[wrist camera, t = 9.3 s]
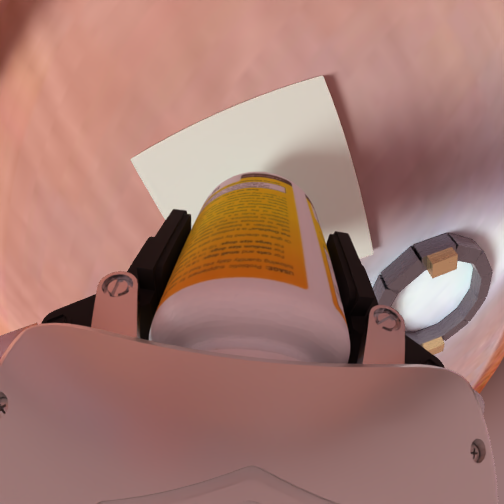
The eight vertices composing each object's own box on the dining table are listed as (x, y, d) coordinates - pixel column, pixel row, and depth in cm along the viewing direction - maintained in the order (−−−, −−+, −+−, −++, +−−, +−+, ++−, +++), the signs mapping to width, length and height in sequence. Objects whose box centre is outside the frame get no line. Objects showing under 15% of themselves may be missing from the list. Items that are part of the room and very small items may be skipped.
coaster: (370, 248, 17) (373, 254, 16) (217, 294, 20) (216, 300, 19) (320, 75, 11) (322, 75, 11) (134, 156, 14) (130, 159, 14)
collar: (472, 315, 20) (482, 332, 18) (372, 353, 23) (377, 374, 21) (488, 217, 15) (505, 234, 13) (356, 263, 18) (364, 287, 16)
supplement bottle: (180, 223, 14) (91, 417, 5) (257, 142, 11) (218, 353, 3) (259, 284, 16) (247, 472, 7) (338, 224, 13) (403, 433, 5)
